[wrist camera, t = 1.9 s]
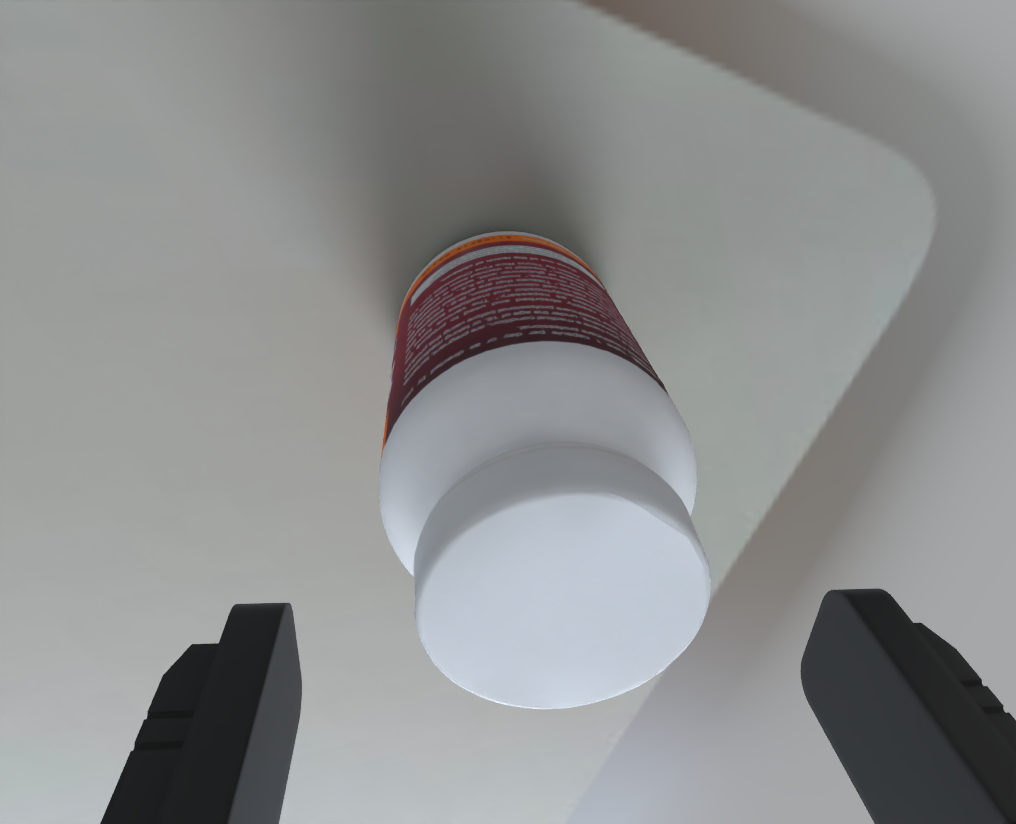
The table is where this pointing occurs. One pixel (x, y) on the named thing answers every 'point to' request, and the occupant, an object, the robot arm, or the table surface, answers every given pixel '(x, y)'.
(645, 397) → the pill bottle
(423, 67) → the table surface
